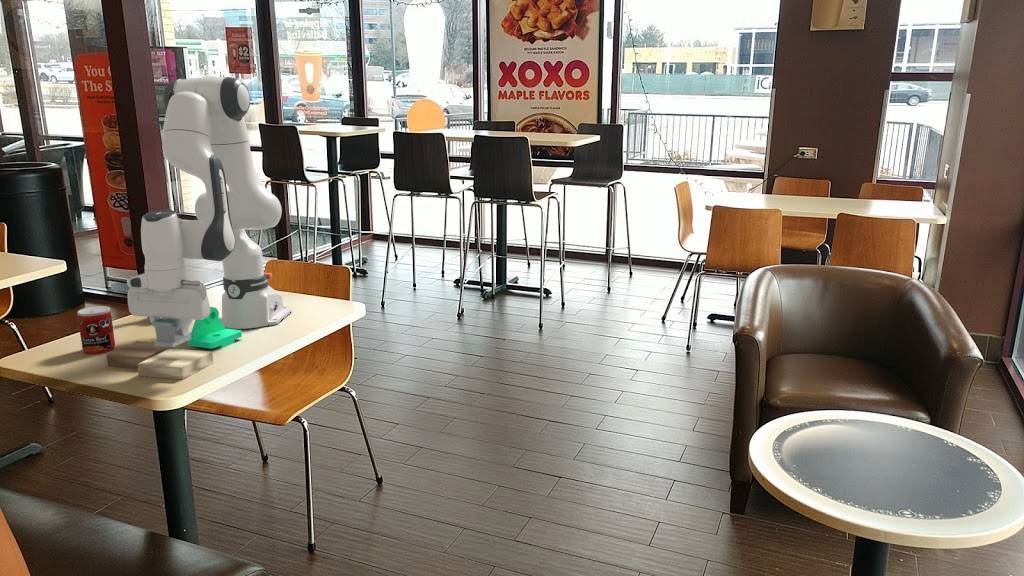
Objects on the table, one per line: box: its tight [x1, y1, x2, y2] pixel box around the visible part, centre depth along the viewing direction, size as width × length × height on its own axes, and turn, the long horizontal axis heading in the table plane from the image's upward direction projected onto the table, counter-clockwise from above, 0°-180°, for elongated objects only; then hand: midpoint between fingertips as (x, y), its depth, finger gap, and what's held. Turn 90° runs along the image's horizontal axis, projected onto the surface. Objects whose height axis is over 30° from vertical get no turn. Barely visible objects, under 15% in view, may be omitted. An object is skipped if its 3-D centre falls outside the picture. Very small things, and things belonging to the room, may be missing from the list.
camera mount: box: [188, 306, 243, 350], centre depth 207 cm, size 12×8×10 cm, turn 157°
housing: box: [151, 317, 191, 348], centre depth 186 cm, size 5×7×6 cm
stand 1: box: [105, 340, 175, 369], centre depth 195 cm, size 11×11×3 cm
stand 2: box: [137, 348, 214, 381], centre depth 188 cm, size 12×12×3 cm
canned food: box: [76, 305, 116, 355], centre depth 202 cm, size 8×8×11 cm
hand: (172, 334), depth 186 cm, fingers closed on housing, 5 cm apart
